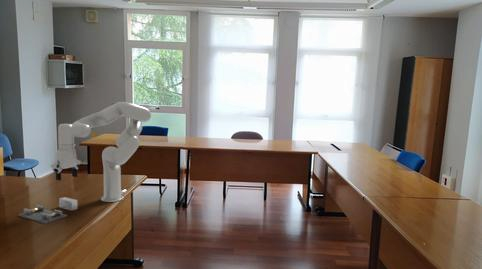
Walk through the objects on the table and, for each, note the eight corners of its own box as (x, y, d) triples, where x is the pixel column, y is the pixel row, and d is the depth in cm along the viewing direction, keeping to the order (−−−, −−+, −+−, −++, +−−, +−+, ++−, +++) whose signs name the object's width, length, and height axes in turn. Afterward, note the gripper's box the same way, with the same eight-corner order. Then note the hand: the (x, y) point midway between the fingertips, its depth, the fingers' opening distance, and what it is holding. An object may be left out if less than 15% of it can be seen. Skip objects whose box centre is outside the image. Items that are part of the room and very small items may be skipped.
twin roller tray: (37, 209, 182) (37, 204, 181) (62, 216, 173) (62, 211, 173) (23, 213, 175) (23, 208, 175) (48, 220, 167) (48, 215, 167)
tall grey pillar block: (65, 205, 191) (64, 197, 191) (77, 209, 187) (77, 200, 186) (59, 207, 188) (59, 198, 187) (71, 210, 184) (71, 201, 183)
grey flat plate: (40, 209, 184) (40, 207, 184) (67, 216, 175) (67, 215, 175) (18, 215, 174) (18, 214, 174) (45, 223, 165) (45, 222, 164)
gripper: (75, 144, 193) (75, 174, 195) (46, 148, 177) (47, 180, 179) (85, 145, 190) (85, 176, 191) (56, 149, 174) (56, 182, 176)
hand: (66, 178), depth 185 cm, fingers open, 9 cm apart
